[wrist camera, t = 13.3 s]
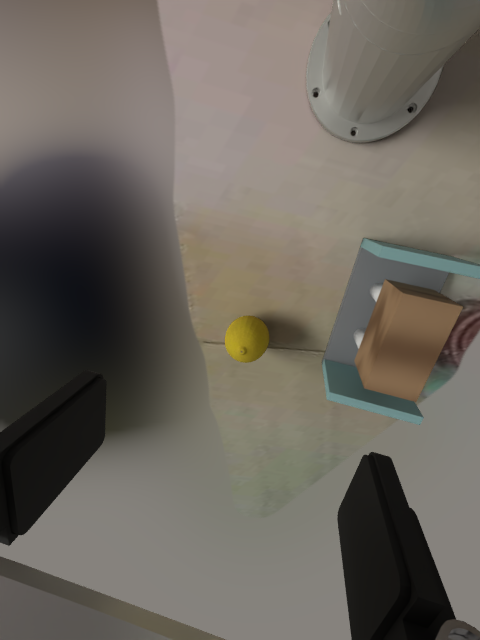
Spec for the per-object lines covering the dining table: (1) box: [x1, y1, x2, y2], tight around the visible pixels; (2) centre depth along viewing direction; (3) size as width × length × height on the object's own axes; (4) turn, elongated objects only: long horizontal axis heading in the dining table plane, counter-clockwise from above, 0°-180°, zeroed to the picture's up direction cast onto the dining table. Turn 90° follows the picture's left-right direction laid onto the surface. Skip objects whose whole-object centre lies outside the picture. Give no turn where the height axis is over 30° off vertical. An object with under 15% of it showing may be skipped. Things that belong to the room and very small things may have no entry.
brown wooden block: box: [354, 279, 463, 402], centre depth 30 cm, size 10×5×6 cm, turn 168°
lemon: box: [225, 316, 269, 363], centre depth 38 cm, size 6×6×8 cm
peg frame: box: [322, 238, 480, 425], centre depth 34 cm, size 17×10×9 cm, turn 168°
